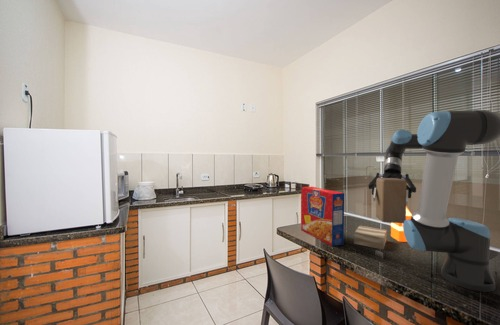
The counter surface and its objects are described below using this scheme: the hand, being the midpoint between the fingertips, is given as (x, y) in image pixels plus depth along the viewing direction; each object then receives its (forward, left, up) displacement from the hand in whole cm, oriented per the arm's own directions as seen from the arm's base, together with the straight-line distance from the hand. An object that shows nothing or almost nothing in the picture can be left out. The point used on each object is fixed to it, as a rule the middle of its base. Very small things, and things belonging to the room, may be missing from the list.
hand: (390, 201), depth 106 cm
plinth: (+17, +10, -27) cm, 33 cm away
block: (+2, 0, -10) cm, 10 cm away
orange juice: (+33, -4, -27) cm, 43 cm away
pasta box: (+9, +35, -27) cm, 45 cm away
